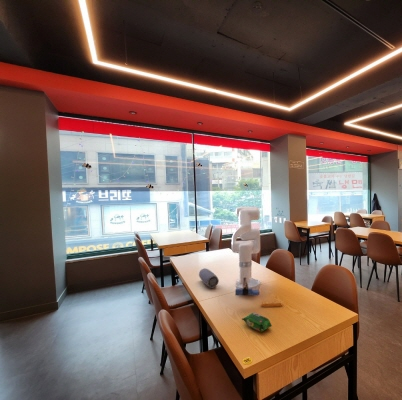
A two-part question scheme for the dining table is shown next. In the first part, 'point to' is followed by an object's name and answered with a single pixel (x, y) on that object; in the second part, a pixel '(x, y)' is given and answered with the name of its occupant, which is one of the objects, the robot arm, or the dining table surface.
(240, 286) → the cereal bowl
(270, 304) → the fry
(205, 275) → the bluetooth speaker
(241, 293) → the blue notched block
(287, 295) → the dining table surface
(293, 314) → the dining table surface
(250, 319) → the snack package
